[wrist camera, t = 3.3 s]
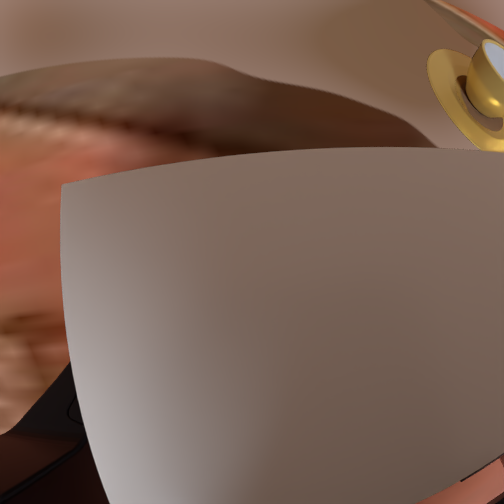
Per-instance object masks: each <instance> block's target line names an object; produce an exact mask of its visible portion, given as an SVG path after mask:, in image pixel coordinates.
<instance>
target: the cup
mask: <svg viewBox="0 0 504 504" xmlns="http://www.w3.org/2000/svg"><path fill="white" fill-rule="evenodd" d="M427 74H428V78H429V81H430V84H431V87H432V89H433V91H434V93H435V95H436V97H437V99H438V101H439V102H440V104H441V106H442V107H443V109H444V110H445V112H446V113H447V115H448V116H449V117H450V119H451V120H452V121H453V123H454V124H455V125H456V126H457V128H458V129H459V130H460V131H461V132H462V133H463V134H464V135H465V136H466V137H467V138H468V139H469V140H470V141H471V142H472V143H473V144H474V145H475V146H476V147H477V148H479V149H480V150H481V151H490V152H500V153H504V47H503V46H502V45H501V44H499V43H497V42H495V41H493V40H490V39H485V40H483V41H482V43H481V44H480V46H479V47H478V49H477V51H476V52H475V54H474V56H473V57H472V58H470V57H468V56H466V55H464V54H462V53H460V52H457V51H454V50H449V49H438V50H436V51H433V52H432V53H431V54H430V55H429V57H428V59H427ZM465 82H466V86H465V88H466V93H467V96H468V98H469V100H470V102H471V103H472V104H473V106H474V107H475V108H476V109H477V110H478V111H479V112H480V113H481V114H483V115H485V116H486V117H489V118H503V127H502V129H501V130H500V131H491V130H488V129H486V128H485V127H483V126H482V125H481V124H479V123H478V122H477V121H476V120H475V119H474V118H473V117H472V116H471V115H470V114H469V112H468V109H467V107H466V105H465V103H464V100H463V98H462V95H461V86H462V84H463V83H465Z"/></svg>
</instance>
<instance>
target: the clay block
mask: <svg viewBox="0 0 504 504" xmlns="http://www.w3.org/2000/svg"><path fill="white" fill-rule="evenodd" d="M60 255H61V279H62V294H63V306H64V316H65V325H66V333H67V340H68V347H69V354H70V360H71V366H72V372H73V377H74V382H75V387H76V392H77V397H78V401H79V406H80V410H81V414H82V418H83V422H84V426H85V430H86V434H87V437H88V441H89V444H90V448H91V451H92V454H93V457H94V461H95V464H96V467H97V470H98V473H99V476H100V478H101V481H102V484H103V487H104V490H105V492H106V495H107V497H108V500H109V503H110V504H415V503H417V502H420V501H422V500H424V499H426V498H428V497H430V496H432V495H434V494H436V493H438V492H440V491H442V490H444V489H446V488H448V487H449V486H451V485H453V484H455V483H457V482H458V481H460V480H462V479H464V478H465V477H467V476H469V475H470V474H472V473H474V472H475V471H477V470H479V469H480V468H482V467H483V466H485V465H486V464H488V463H490V462H491V461H493V460H494V459H496V458H497V457H498V456H500V455H501V454H503V453H504V153H500V152H490V151H478V150H464V149H445V148H420V147H350V148H323V149H304V150H288V151H275V152H263V153H252V154H242V155H232V156H223V157H215V158H207V159H199V160H192V161H185V162H178V163H171V164H165V165H158V166H152V167H146V168H141V169H135V170H129V171H124V172H119V173H114V174H108V175H104V176H99V177H94V178H89V179H85V180H80V181H76V182H71V183H67V184H63V185H62V189H61V213H60Z"/></svg>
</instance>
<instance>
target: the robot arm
mask: <svg viewBox="0 0 504 504" xmlns="http://www.w3.org/2000/svg"><path fill="white" fill-rule="evenodd" d="M499 458H500V460H501V462H502V465H503V467H504V453H503V454H501V455H500V456H498V457H497V458H496V459H494V460H493V461H491V462H490V463H488V464H486V465H485V466H483V467H482V468H480V469H479V470H477V471H475V472H474V473H472V474H470V475H469V476H467V477H465V478H464V479H462V480H460V481H461V482H462V481H464V480H466V479H467V478H469V477H471V476H472V475H474V474H476V473H477V472H479V471H480V470H482V469H484V468H485V467H487V466H488V465H490V464H491V463H493V462H494V461H496V460H497V459H499ZM0 504H110V503H109V500H108V497H107V495H106V492H105V490H104V487H103V484H102V481H101V478H100V476H99V473H98V470H97V467H96V464H95V461H94V457H93V454H92V451H91V448H90V444H89V441H88V437H87V434H86V430H85V426H84V422H83V418H82V414H81V410H80V406H79V401H78V397H77V392H76V387H75V382H74V377H73V372H72V366H71V361H70V362H69V364H68V365H67V366H66V367H65V369H64V370H63V371H62V372H61V374H60V375H59V376H58V377H57V379H56V380H55V381H54V382H53V383H52V385H51V386H50V387H49V388H48V389H47V390H46V391H45V393H44V394H43V395H42V396H41V397H40V398H39V399H38V400H37V402H36V403H35V404H34V405H33V406H32V407H31V408H30V410H29V411H28V412H27V413H26V414H25V415H24V416H23V418H22V419H21V420H20V421H19V422H18V423H17V424H16V425H15V426H14V427H13V428H12V429H10V430H9V431H7V432H6V433H4V434H2V435H0ZM487 504H504V492H503V493H501V494H500V495H498V496H497V497H496V498H494V499H493V500H491V501H490V502H488V503H487Z"/></svg>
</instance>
